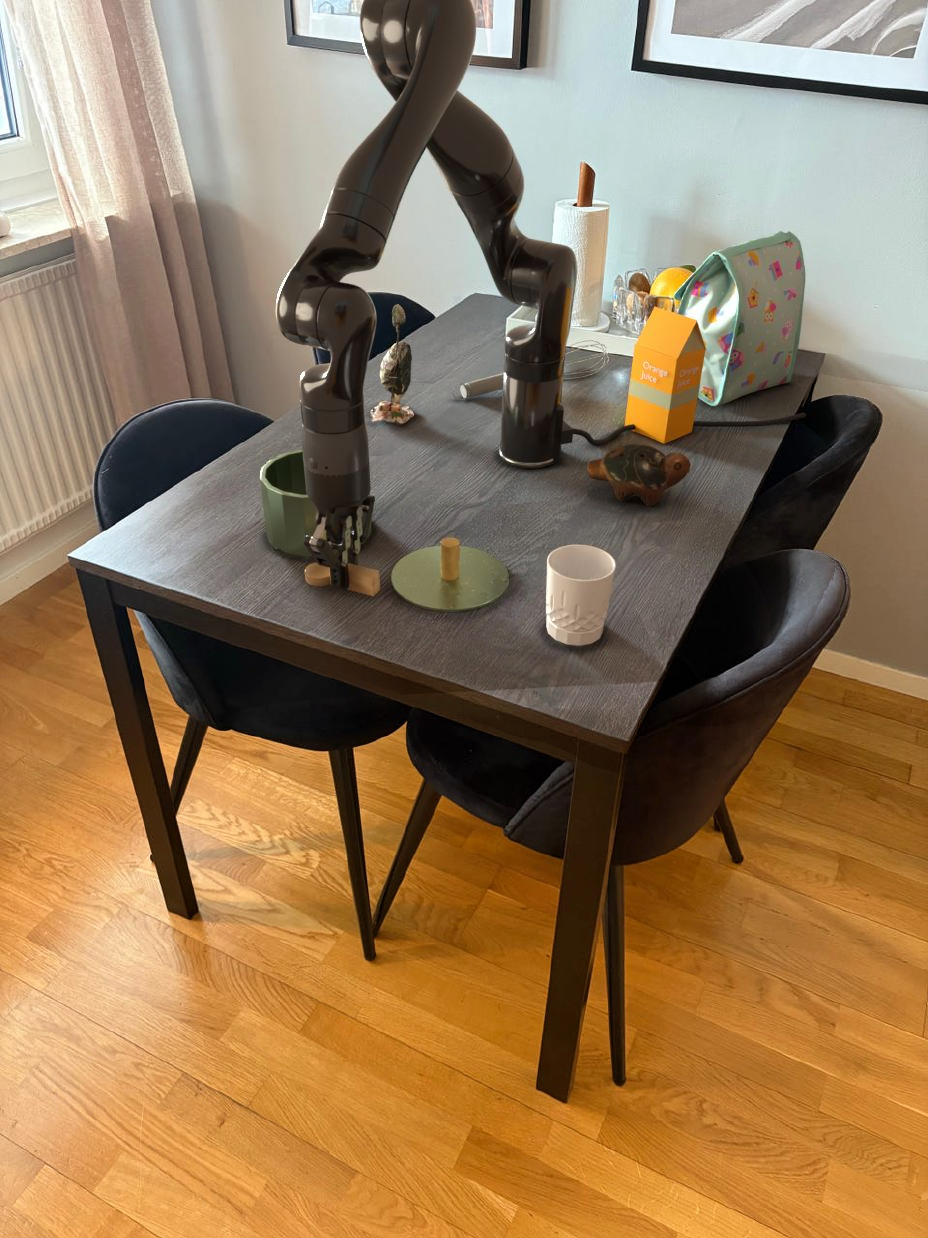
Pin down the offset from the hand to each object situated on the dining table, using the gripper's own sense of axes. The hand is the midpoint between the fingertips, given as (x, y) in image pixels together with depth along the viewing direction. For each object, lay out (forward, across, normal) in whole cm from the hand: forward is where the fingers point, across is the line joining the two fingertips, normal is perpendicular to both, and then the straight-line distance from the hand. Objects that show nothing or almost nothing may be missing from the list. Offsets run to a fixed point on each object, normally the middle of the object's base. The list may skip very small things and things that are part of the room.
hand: (345, 582), depth 120 cm
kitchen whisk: (+3, +77, +3) cm, 77 cm away
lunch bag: (+3, +93, -29) cm, 97 cm away
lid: (+2, +8, -11) cm, 14 cm away
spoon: (0, 0, 0) cm, 1 cm away
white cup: (+2, +5, -29) cm, 29 cm away
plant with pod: (+3, +53, +21) cm, 57 cm away
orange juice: (+3, +67, -23) cm, 71 cm away
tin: (+2, +12, +11) cm, 17 cm away
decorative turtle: (+3, +42, -26) cm, 50 cm away
